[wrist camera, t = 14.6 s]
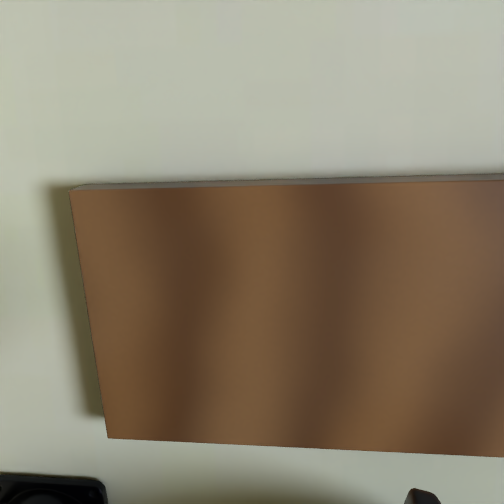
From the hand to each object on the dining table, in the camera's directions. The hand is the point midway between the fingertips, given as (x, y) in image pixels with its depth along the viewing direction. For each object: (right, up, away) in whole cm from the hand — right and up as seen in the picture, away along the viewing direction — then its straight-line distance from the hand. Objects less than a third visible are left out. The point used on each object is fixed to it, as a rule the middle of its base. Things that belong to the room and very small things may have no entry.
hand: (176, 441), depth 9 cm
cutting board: (+4, +1, +12) cm, 13 cm away
